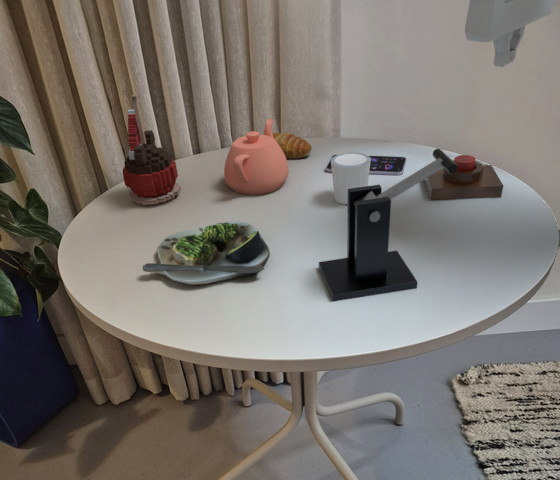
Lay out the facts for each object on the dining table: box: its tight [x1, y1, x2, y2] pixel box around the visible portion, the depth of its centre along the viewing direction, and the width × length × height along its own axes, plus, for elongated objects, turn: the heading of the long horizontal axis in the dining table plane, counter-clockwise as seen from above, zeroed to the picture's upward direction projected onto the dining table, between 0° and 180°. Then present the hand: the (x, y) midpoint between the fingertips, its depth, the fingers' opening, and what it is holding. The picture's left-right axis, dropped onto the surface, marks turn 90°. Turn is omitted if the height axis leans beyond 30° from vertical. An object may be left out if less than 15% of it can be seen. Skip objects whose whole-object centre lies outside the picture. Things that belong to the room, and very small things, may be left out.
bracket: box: [318, 184, 418, 302], centre depth 79 cm, size 12×9×13 cm
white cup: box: [331, 151, 371, 205], centre depth 101 cm, size 7×7×7 cm
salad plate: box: [142, 220, 271, 285], centre depth 88 cm, size 19×18×5 cm
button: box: [453, 154, 477, 171], centre depth 100 cm, size 4×4×2 cm
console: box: [422, 159, 504, 202], centre depth 101 cm, size 12×9×4 cm
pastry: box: [272, 132, 313, 160], centre depth 119 cm, size 9×7×4 cm
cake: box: [122, 94, 181, 205], centre depth 103 cm, size 11×9×18 cm
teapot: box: [223, 117, 290, 195], centre depth 108 cm, size 12×18×10 cm
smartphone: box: [325, 153, 408, 176], centre depth 113 cm, size 8×1×15 cm
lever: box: [354, 148, 458, 207], centre depth 74 cm, size 13×6×2 cm, turn 99°
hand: (503, 64), depth 82 cm, fingers closed
